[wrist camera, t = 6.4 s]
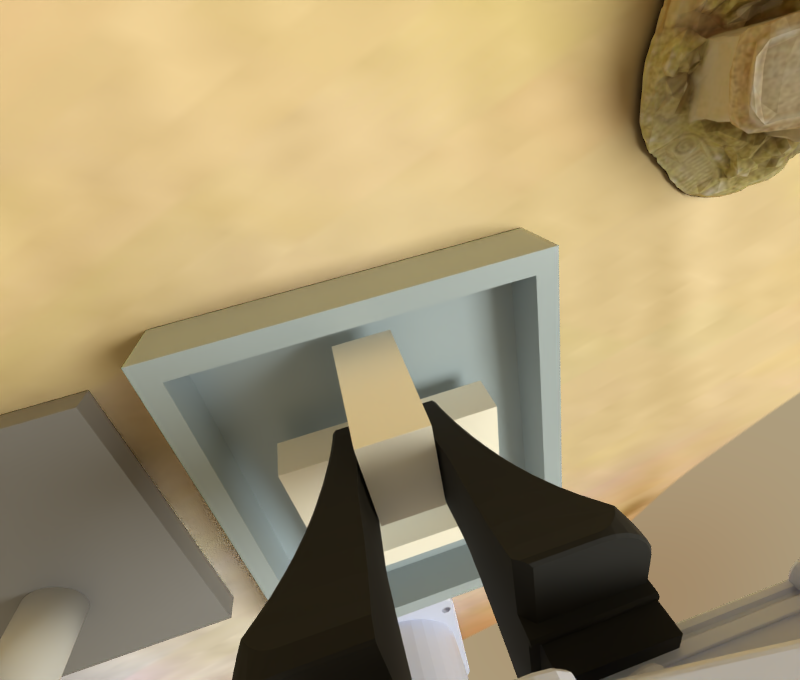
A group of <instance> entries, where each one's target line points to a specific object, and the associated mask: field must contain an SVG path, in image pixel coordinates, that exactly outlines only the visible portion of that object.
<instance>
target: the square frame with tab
mask: <svg viewBox="0 0 800 680" xmlns="http://www.w3.org/2000/svg"><path fill="white" fill-rule="evenodd" d="M332 351H333V356H334V360H335V365H336V370H337V374H338V379H339V384H340V388H341V393H342V398H343V402H344V407H345V411H346V416H347V421H348V422H345V423H342V424H339V425H335V426H332V427H329V428H326V429H322V430H319V431H316V432H313V433H309V434H306V435H303V436H300V437H297V438H293V439H290V440H287V441H284V442H280V443H277V455H278V477H279V479H280V481H281V482H282V484H283V486H284V488H285V490H286V491H287V493H288V495H289V497H290V498H291V500H292V502H293V504H294V506H295V507H296V509H297V511H298V513H299V515H300V516H301V518H302V520H303V522H304V524H305V525H306V527H308V524H309V522H310V520H311V517H312V514H313V512H314V509H315V506H316V503H317V500H318V497H319V494H320V491H321V488H322V485H323V482H324V478H325V474H326V470H327V466H328V462H329V457H330V452H331V447H332V439H333V433H334V432H335V430H338V429H341V428H345V427H348V426H349V430H350V435H351V439H352V444H353V449H354V452H355V455H356V457H357V460H358V463H359V466H360V469H361V471H362V474H363V477H364V480H365V482H366V485H367V488H368V491H369V493H370V496H371V499H372V502H373V504H374V507H375V510H376V513H377V516H378V518H379V522H380V529H381V536H382V544H383V551H384V558H385V565H386V566H387V565H390V564H393V563H396V562H398V561H401V560H404V559H407V558H410V557H413V556H416V555H419V554H421V553H424V552H427V551H430V550H433V549H436V548H439V547H441V546H444V545H447V544H450V543H453V542H456V541H459V540H461V539H464V537H463V535H462V533H461V531H460V529H459V527H458V525H457V523H456V521H455V519H454V517H453V515H452V513H451V511H450V509H449V507H448V505H447V503H446V501H445V496H444V490H443V485H442V479H441V474H440V468H439V463H438V458H437V452H436V447H435V441H434V436H433V430H432V425H431V423H430V421H429V418H428V416H427V414H426V411H425V409H424V407H423V404H422V403H425V402H428V401H431V400H432V401H434V402H436V403H437V404H438V405H439V407H440V408H441V409H442V410H443V411H444V412H445V413H446V414H447V415H448V416H450V417H451V418H452V419H453V420H454V421H455V422H456V423H457V424H458V425H460V426H461V427H462V428H463V429H464V430H466V431H467V432H468V433H469V434H471V435H472V436H473V437H474V438H476V439H477V440H478V441H480V442H481V443H482V444H484V445H485V446H486V447H488V448H489V449H491V450H492V451H494V452H495V453H497V454H498V455H499V439H498V417H497V406H496V404H495V403H494V401H493V400H492V398H491V396H490V395H489V393H488V392H487V390H486V389H485V387H484V385H483V384H482V382H481V381H477V382H474V383H471V384H468V385H464V386H461V387H458V388H455V389H451V390H448V391H445V392H442V393H439V394H435V395H432V396H429V397H426V398H422V399H420V397H419V395H418V393H417V391H416V388H415V386H414V384H413V381H412V379H411V377H410V374H409V372H408V370H407V367H406V365H405V363H404V361H403V358H402V356H401V354H400V351H399V349H398V347H397V344H396V342H395V340H394V338H393V335H392V333H391V331H390V330H387V331H383V332H380V333H376V334H373V335H369V336H366V337H362V338H359V339H356V340H352V341H349V342H345V343H342V344H338V345H335V346H332Z"/></svg>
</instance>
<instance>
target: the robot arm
mask: <svg viewBox="0 0 800 680" xmlns="http://www.w3.org/2000/svg"><path fill="white" fill-rule="evenodd" d="M422 404H423V407H424V409H425V411H426V414H427V416H428V418H429V421H430V423H431V425H432V430H433V436H434V441H435V447H436V452H437V458H438V463H439V468H440V474H441V479H442V485H443V490H444V496H445V501H446V503H447V505H448V507H449V509H450V511H451V513H452V515H453V517H454V519H455V521H456V523H457V525H458V527H459V529H460V531H461V533H462V535H463V537H464V539H465V542H466V544H467V546H468V548H469V550H470V553H471V555H472V558H473V561H474V563H475V566H476V568H477V571H478V573H479V576H480V579H481V581H482V584H483V586H484V589H485V592H486V594H487V597H488V600H489V602H490V605H491V607H492V610H493V613H494V615H495V618H496V621H497V623H498V626H499V629H500V631H501V634H502V636H503V639H504V642H505V645H506V647H507V650H508V653H509V656H510V658H511V661H512V664H513V667H514V669H515V672H516V675H517V679H515V680H800V559H798V560H797V561H796V562H795V563H794V564H793V566H792V567H791V570H790V573H789V579H788V580H785V581H783V582H780V583H778V584H775V585H773V586H770V587H768V588H765V589H763V590H760V591H757V592H755V593H752V594H750V595H747V596H745V597H742V598H740V599H737V600H735V601H732V602H729V603H727V604H724V605H722V606H719V607H717V608H714V609H711V610H709V611H707V612H704V613H701V614H699V615H696V616H694V617H691V618H689V619H686V620H683V621H681V622H679V623H676V624H675V622H674V621H673V620H672V619H671V617H670V616H669V615H668V613H667V612H666V611H665V609H664V608H663V607H662V606H661V604H660V603H659V602H658V600H659V594H658V592H657V591H656V589H655V588H654V587H653V585H652V584H651V583H650V582H649V580H648V572H649V566H650V559H651V546H650V544H649V542H648V540H647V539H646V538H645V537H644V535H643V534H642V533H641V532H640V531H639V529H638V528H637V527H636V526H635V525H634V524H633V523H632V522H631V521H630V520H629V519H628V518H627V517H626V516H625V515H624V514H622V513H621V512H620V511H619V510H618V509H617V508H616V507H615V506H613V505H610V504H607V503H603V502H600V501H597V500H594V499H591V498H588V497H585V496H581V495H579V494H576V493H573V492H571V491H568V490H566V489H563V488H561V487H558V486H556V485H554V484H552V483H550V482H547V481H545V480H543V479H541V478H539V477H537V476H535V475H532V474H531V473H529V472H527V471H525V470H523V469H521V468H520V467H518V466H516V465H514V464H513V463H511V462H509V461H508V460H506V459H504V458H503V457H501V456H500V455H498V454H497V453H495V452H494V451H492V450H491V449H489V448H488V447H486V446H485V445H484V444H482V443H481V442H480V441H478V440H477V439H476V438H474V437H473V436H472V435H471V434H469V433H468V432H467V431H466V430H464V429H463V428H462V427H461V426H460V425H458V424H457V423H456V422H455V421H454V420H453V419H452V418H451V417H450V416H448V415H447V414H446V413H445V412H444V411H443V410H442V409H441V408H440V407H439V405H438V404H437V403H436V402H434V401H432V400H431V401H428V402H425V403H422ZM469 671H470V670H469V666H468V662H467V658H466V653H465V649H464V645H463V641H462V637H461V633H460V629H459V625H458V621H457V617H456V613H455V608H454V604H453V601H452V598H450V599H447V600H444V601H442V602H439V603H436V604H433V605H431V606H428V607H425V608H422V609H419V610H417V611H414V612H411V613H408V614H406V615H403V616H400V617H397V615H396V611H395V607H394V603H393V598H392V594H391V590H390V585H389V581H388V576H387V571H386V565H385V558H384V551H383V544H382V536H381V529H380V522H379V518H378V516H377V513H376V510H375V507H374V504H373V502H372V499H371V496H370V493H369V491H368V488H367V485H366V482H365V480H364V477H363V474H362V471H361V469H360V466H359V463H358V460H357V457H356V455H355V452H354V449H353V444H352V439H351V435H350V430H349V426H348V427H345V428H341V429H338V430H335V432H334V433H333V439H332V447H331V452H330V457H329V462H328V466H327V470H326V474H325V478H324V482H323V485H322V488H321V491H320V494H319V497H318V500H317V503H316V506H315V509H314V512H313V514H312V517H311V520H310V522H309V524H308V527H307V529H306V531H305V534H304V536H303V538H302V540H301V542H300V544H299V546H298V548H297V550H296V553H295V555H294V557H293V559H292V560H291V562H290V564H289V566H288V568H287V570H286V571H285V573H284V575H283V576H282V578H281V580H280V581H279V583H278V585H277V587H276V588H275V590H274V592H273V593H272V595H271V597H270V598H269V600H268V601H267V603H266V604H265V606H264V607H263V609H262V610H261V612H260V613H259V614H258V616H257V617H256V619H255V620H254V622H253V623H252V625H251V626H250V627H249V629H248V630H247V632H246V633H245V634H244V636H243V637H242V639H241V641H240V645H239V649H238V653H237V657H236V663H235V667H234V672H233V678H232V680H469V679H468V676H467V674H468V673H469Z"/></svg>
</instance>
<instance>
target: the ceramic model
mask: <svg viewBox="0 0 800 680" xmlns="http://www.w3.org/2000/svg"><path fill="white" fill-rule="evenodd" d="M639 123H640V126H641V130H642V136H643V139H644V140H645V142H646V146H647V149H648V151H649V153H651V154H653V156H654V157H657V163H658V164H659V165H661V167H662V168H663V169H664V170H666V171H667V173H668V176H669V178H670V180H671V181H672V182H673V183H675V184H676V187H677V188H679V189H681V190H682V191H683V192H684V193H686V194H687V195H688V194H691V195H693V196H696V195H697V196H698V197H720V196H724V195H729V194H732V193H735V192H738V191H741V190H743V189H744V188H746V187H747V186H750V185H753V184H756V183H759V182H763V181H766V180H768V179H770V178H771V177H773V176H775V175H776V174H778V173H779V172H780V171H781V170H782V169H783V168H784V167H785V165H786V164H787V162H788V160H789V159H790V158H793V157H794V156H795V155H796V154H798V153H800V0H664V6H663V7H662V8H661V12H660V15H659V19H658V22H657V27H656V31H655V34H654V36H653V38H652V40H651V44H650V48H649V51H648V54H647V57H646V61H645V66H644V72H643V84H642V96H641V107H640V121H639Z"/></svg>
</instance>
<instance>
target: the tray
mask: <svg viewBox="0 0 800 680" xmlns="http://www.w3.org/2000/svg"><path fill="white" fill-rule="evenodd" d="M387 330H390V331H391V333H392V335H393V338H394V340H395V342H396V344H397V347H398V349H399V351H400V354H401V356H402V358H403V361H404V363H405V365H406V367H407V370H408V372H409V374H410V377H411V379H412V381H413V384H414V386H415V388H416V391H417V393H418V395H419V397H420V399H422V398H426V397H429V396H432V395H435V394H439V393H442V392H445V391H448V390H451V389H455V388H458V387H461V386H464V385H468V384H471V383H474V382H477V381H481V382H482V384H483V385H484V387H485V389H486V390H487V392H488V393H489V395H490V396H491V398H492V400H493V401H494V403H495V404H496V406H497V417H498V439H499V455H500V456H501V457H503V458H504V459H506V460H508V461H509V462H511V463H513V464H514V465H516V466H518V467H520V468H521V469H523V470H525V471H527V472H529V473H531V474H532V475H535V476H537V477H539V478H541V479H543V480H545V481H547V482H550V483H552V484H554V485H556V486H558V487H561V488H562V473H561V394H560V315H559V245H557V244H555V243H553V242H550V241H548V240H546V239H544V238H542V237H540V236H538V235H536V234H534V233H532V232H530V231H527V230H525V229H523V228H518V229H515V230H511V231H507V232H504V233H500V234H496V235H493V236H489V237H486V238H482V239H478V240H475V241H471V242H467V243H464V244H460V245H456V246H453V247H449V248H445V249H442V250H438V251H434V252H431V253H427V254H423V255H420V256H416V257H412V258H409V259H405V260H401V261H398V262H394V263H390V264H387V265H383V266H379V267H376V268H372V269H368V270H365V271H361V272H357V273H354V274H350V275H346V276H343V277H339V278H335V279H332V280H328V281H324V282H321V283H317V284H313V285H310V286H306V287H303V288H299V289H295V290H292V291H288V292H284V293H281V294H277V295H273V296H270V297H266V298H262V299H259V300H255V301H251V302H248V303H244V304H240V305H237V306H233V307H229V308H226V309H222V310H218V311H215V312H211V313H207V314H204V315H200V316H196V317H193V318H189V319H185V320H182V321H178V322H174V323H171V324H167V325H163V326H160V327H156V328H152V329H149V330H146V331H145V332H144V334H143V335H142V337H141V339H140V340H139V342H138V343H137V345H136V346H135V348H134V349H133V351H132V352H131V354H130V355H129V357H128V358H127V360H126V361H125V363H124V364H123V366H122V367H121V369H122V371H123V372H124V374H125V375H126V377H127V379H128V380H129V382H130V383H131V385H132V386H133V388H134V390H135V391H136V393H137V394H138V396H139V397H140V399H141V401H142V402H143V404H144V405H145V407H146V409H147V410H148V412H149V413H150V415H151V416H152V418H153V420H154V421H155V423H156V424H157V426H158V428H159V429H160V431H161V432H162V434H163V435H164V437H165V439H166V440H167V442H168V443H169V445H170V446H171V448H172V450H173V451H174V453H175V454H176V456H177V458H178V459H179V461H180V462H181V464H182V465H183V467H184V469H185V470H186V472H187V473H188V475H189V476H190V478H191V480H192V481H193V483H194V484H195V486H196V488H197V489H198V491H199V492H200V494H201V495H202V497H203V499H204V500H205V502H206V503H207V505H208V507H209V508H210V510H211V511H212V513H213V514H214V516H215V518H216V519H217V521H218V522H219V524H220V525H221V527H222V529H223V530H224V532H225V533H226V535H227V537H228V538H229V540H230V541H231V543H232V544H233V546H234V548H235V549H236V551H237V552H238V554H239V556H240V557H241V559H242V560H243V562H244V563H245V565H246V567H247V568H248V570H249V571H250V573H251V574H252V576H253V578H254V579H255V581H256V582H257V584H258V586H259V587H260V589H261V590H262V592H263V593H264V595H265V597H266V598H267V600H269V598H270V597H271V595H272V593H273V592H274V590H275V588H276V587H277V585H278V583H279V581H280V580H281V578H282V576H283V575H284V573H285V571H286V570H287V568H288V566H289V564H290V562H291V560H292V559H293V557H294V555H295V553H296V550H297V548H298V546H299V544H300V542H301V540H302V538H303V536H304V534H305V531H306V529H307V527H306V525H305V524H304V522H303V520H302V518H301V516H300V515H299V513H298V511H297V509H296V507H295V506H294V504H293V502H292V500H291V498H290V497H289V495H288V493H287V491H286V490H285V488H284V486H283V484H282V482H281V481H280V479H279V477H278V455H277V443H280V442H284V441H287V440H290V439H293V438H297V437H300V436H303V435H306V434H309V433H313V432H316V431H319V430H322V429H326V428H329V427H332V426H335V425H339V424H342V423H345V422H348V421H347V416H346V411H345V407H344V402H343V398H342V393H341V388H340V384H339V379H338V374H337V370H336V365H335V360H334V356H333V351H332V346H335V345H338V344H342V343H345V342H349V341H352V340H356V339H359V338H362V337H366V336H369V335H373V334H376V333H380V332H383V331H387ZM386 571H387V576H388V581H389V585H390V590H391V594H392V598H393V603H394V607H395V611H396V615H397V617H400V616H403V615H406V614H408V613H411V612H414V611H417V610H419V609H422V608H425V607H428V606H431V605H433V604H436V603H439V602H442V601H444V600H447V599H450V598H453V597H455V596H458V595H461V594H464V593H466V592H469V591H472V590H475V589H477V588H480V587H483V584H482V581H481V579H480V576H479V573H478V571H477V568H476V566H475V563H474V561H473V558H472V555H471V553H470V550H469V548H468V546H467V544H466V542H465V539H461V540H459V541H456V542H453V543H450V544H447V545H444V546H441V547H439V548H436V549H433V550H430V551H427V552H424V553H421V554H419V555H416V556H413V557H410V558H407V559H404V560H401V561H398V562H396V563H393V564H390V565H387V566H386Z"/></svg>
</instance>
